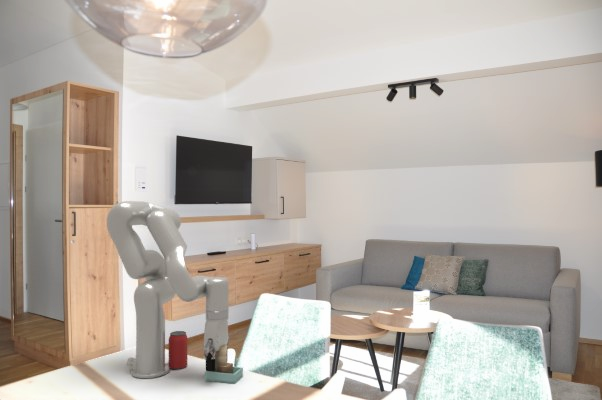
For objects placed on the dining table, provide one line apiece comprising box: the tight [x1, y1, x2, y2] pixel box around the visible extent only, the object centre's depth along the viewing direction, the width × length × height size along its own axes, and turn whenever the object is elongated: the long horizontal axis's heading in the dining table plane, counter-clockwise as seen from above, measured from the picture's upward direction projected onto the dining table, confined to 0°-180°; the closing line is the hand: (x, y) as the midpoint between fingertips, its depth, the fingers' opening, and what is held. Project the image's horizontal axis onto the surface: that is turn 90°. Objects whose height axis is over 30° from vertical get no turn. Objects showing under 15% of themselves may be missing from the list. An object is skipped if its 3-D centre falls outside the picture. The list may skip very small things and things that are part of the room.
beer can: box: [168, 330, 189, 370], centre depth 174 cm, size 7×7×12 cm
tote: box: [204, 366, 244, 385], centre depth 162 cm, size 10×7×3 cm, turn 75°
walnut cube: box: [217, 362, 234, 374], centre depth 162 cm, size 4×4×4 cm
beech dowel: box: [214, 345, 228, 366], centre depth 162 cm, size 4×4×6 cm
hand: (216, 366), depth 163 cm, fingers open, 9 cm apart
